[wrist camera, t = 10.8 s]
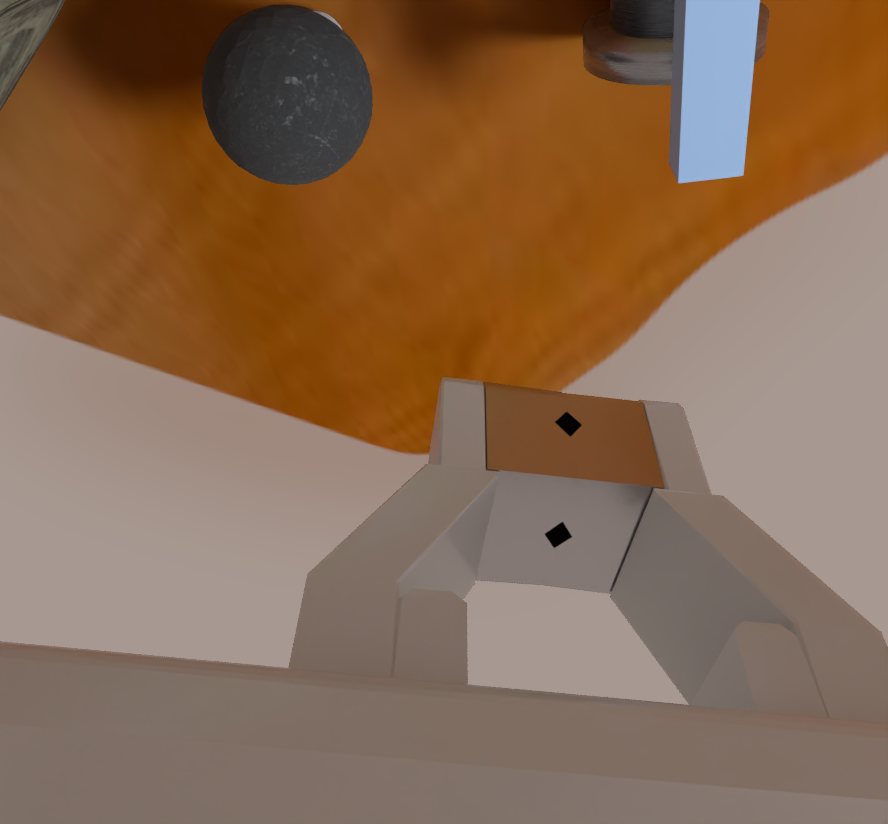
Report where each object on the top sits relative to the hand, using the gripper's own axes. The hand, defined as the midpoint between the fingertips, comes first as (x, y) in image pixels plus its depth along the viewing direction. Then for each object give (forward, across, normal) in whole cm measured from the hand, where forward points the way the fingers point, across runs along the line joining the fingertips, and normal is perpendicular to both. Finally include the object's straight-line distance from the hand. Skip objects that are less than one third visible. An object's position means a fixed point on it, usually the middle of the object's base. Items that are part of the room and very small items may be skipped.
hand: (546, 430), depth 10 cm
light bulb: (+27, +7, +4) cm, 28 cm away
